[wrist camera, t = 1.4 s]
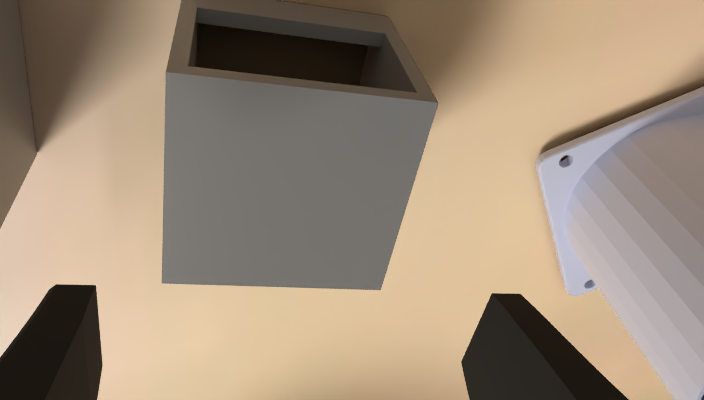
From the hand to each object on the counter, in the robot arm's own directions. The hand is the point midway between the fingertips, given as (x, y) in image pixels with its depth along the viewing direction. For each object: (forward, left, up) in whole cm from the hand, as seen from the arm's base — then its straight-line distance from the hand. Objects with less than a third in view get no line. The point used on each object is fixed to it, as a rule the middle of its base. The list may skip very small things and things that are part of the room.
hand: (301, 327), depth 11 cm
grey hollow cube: (0, 0, -10) cm, 10 cm away
